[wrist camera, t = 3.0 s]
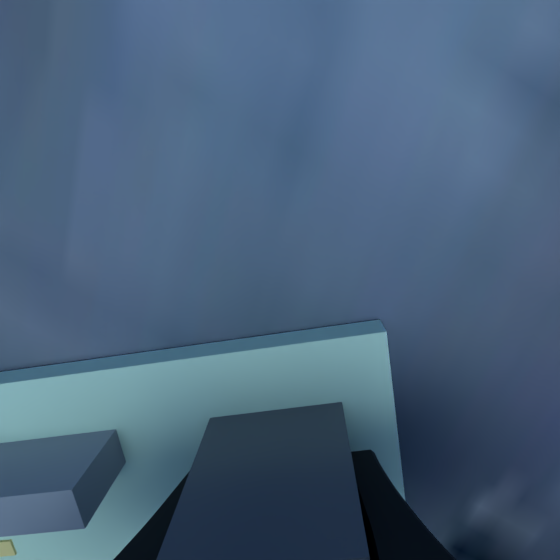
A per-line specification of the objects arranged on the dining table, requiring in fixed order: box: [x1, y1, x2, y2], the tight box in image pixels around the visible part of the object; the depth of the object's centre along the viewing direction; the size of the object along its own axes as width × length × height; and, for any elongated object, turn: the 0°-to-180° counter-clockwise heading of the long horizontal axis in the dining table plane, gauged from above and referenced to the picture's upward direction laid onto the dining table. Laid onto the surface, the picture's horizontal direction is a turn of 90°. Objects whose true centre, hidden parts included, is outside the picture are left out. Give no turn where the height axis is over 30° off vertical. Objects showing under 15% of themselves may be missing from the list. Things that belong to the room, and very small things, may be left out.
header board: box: [0, 319, 405, 560], centre depth 13 cm, size 12×17×4 cm
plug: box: [156, 402, 370, 560], centre depth 10 cm, size 4×4×5 cm
